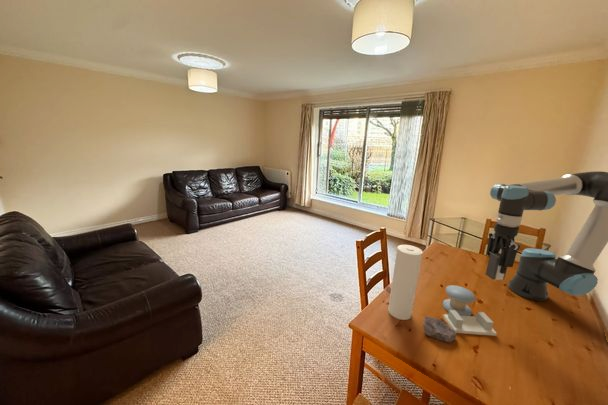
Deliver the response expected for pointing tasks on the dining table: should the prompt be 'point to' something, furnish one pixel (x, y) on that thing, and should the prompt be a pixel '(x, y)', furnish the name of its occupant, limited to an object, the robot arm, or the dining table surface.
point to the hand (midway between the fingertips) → (494, 276)
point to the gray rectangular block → (493, 265)
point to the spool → (459, 300)
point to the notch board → (470, 323)
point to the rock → (438, 329)
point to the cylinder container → (404, 281)
